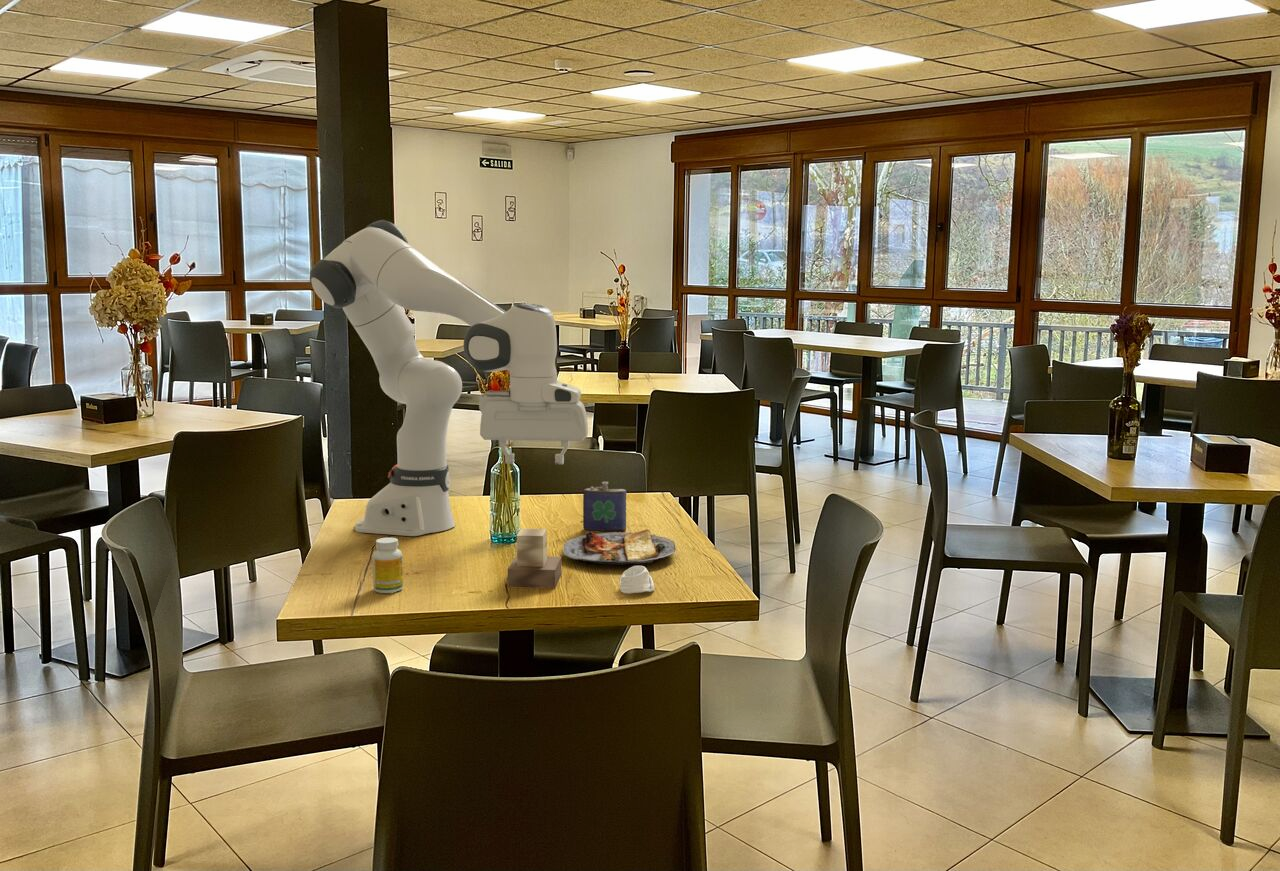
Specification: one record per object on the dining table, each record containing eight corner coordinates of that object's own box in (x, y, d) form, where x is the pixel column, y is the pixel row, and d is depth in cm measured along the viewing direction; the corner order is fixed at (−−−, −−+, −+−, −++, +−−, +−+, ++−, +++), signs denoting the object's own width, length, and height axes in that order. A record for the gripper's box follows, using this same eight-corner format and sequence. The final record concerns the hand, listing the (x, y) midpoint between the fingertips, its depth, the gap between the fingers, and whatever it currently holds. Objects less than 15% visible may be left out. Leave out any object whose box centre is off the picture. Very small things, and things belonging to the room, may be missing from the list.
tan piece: (517, 566, 202) (516, 535, 201) (521, 558, 207) (520, 528, 206) (543, 566, 202) (543, 535, 201) (546, 559, 207) (546, 529, 206)
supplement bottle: (369, 588, 199) (368, 538, 198) (397, 584, 202) (395, 534, 201) (379, 596, 195) (377, 545, 193) (407, 591, 198) (405, 541, 196)
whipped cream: (657, 600, 196) (660, 576, 195) (622, 599, 195) (625, 574, 194) (649, 585, 204) (652, 561, 203) (615, 583, 203) (618, 559, 202)
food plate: (567, 540, 236) (567, 524, 235) (672, 540, 236) (672, 525, 236) (560, 572, 211) (560, 555, 211) (677, 573, 212) (677, 555, 211)
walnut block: (507, 589, 201) (507, 568, 200) (516, 575, 210) (515, 555, 209) (555, 590, 200) (555, 569, 200) (561, 576, 209) (561, 556, 208)
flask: (626, 529, 245) (626, 480, 243) (625, 532, 242) (625, 483, 240) (583, 528, 245) (583, 479, 244) (582, 532, 242) (582, 482, 240)
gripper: (475, 392, 197) (476, 465, 199) (585, 393, 196) (585, 467, 198) (482, 388, 203) (483, 459, 205) (588, 389, 202) (589, 461, 204)
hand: (534, 463), depth 202 cm, fingers open, 8 cm apart
